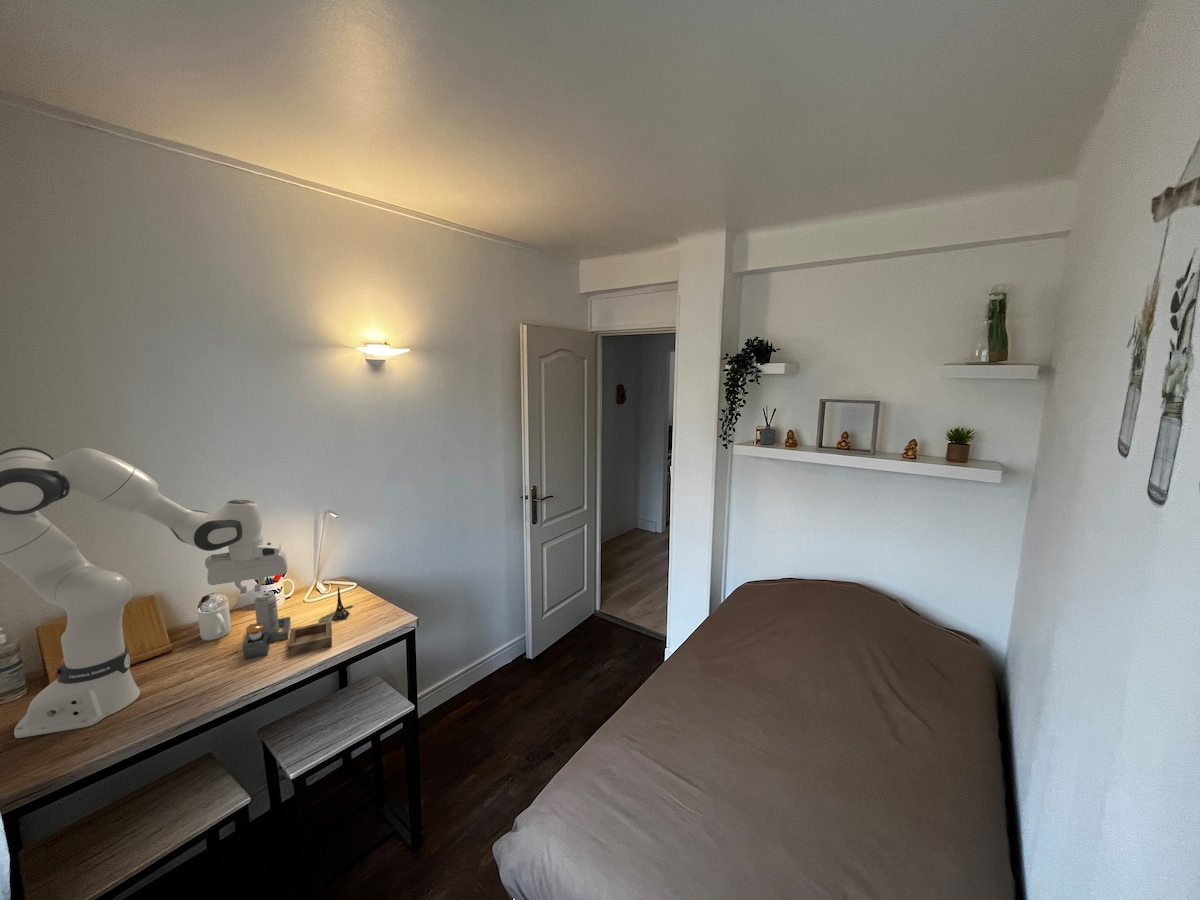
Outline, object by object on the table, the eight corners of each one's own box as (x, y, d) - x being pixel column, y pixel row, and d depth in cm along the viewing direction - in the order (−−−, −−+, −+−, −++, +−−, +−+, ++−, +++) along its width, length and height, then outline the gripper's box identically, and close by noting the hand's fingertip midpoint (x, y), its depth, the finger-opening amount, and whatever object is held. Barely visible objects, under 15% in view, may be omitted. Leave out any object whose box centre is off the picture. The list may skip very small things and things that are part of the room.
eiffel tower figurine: (351, 606, 186) (349, 574, 184) (367, 613, 181) (365, 580, 178) (312, 622, 173) (309, 588, 171) (327, 630, 168) (325, 595, 166)
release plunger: (247, 649, 149) (245, 631, 148) (249, 642, 153) (247, 625, 152) (263, 646, 152) (262, 628, 151) (265, 639, 155) (263, 621, 154)
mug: (239, 636, 162) (236, 608, 160) (209, 647, 155) (205, 618, 154) (226, 625, 169) (223, 598, 167) (197, 635, 162) (193, 607, 161)
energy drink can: (265, 630, 166) (261, 590, 164) (283, 630, 166) (279, 590, 164) (253, 639, 160) (249, 598, 158) (271, 640, 160) (267, 598, 158)
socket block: (240, 661, 148) (238, 646, 148) (250, 631, 166) (248, 617, 165) (286, 651, 154) (284, 637, 153) (290, 623, 171) (289, 610, 171)
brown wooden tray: (288, 656, 151) (287, 646, 151) (291, 638, 162) (290, 628, 161) (331, 646, 157) (330, 637, 157) (331, 629, 167) (331, 620, 167)
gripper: (201, 559, 140) (206, 603, 142) (284, 548, 150) (287, 589, 152) (206, 552, 145) (211, 594, 147) (286, 542, 155) (289, 581, 157)
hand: (251, 591), depth 150 cm, fingers open, 2 cm apart
